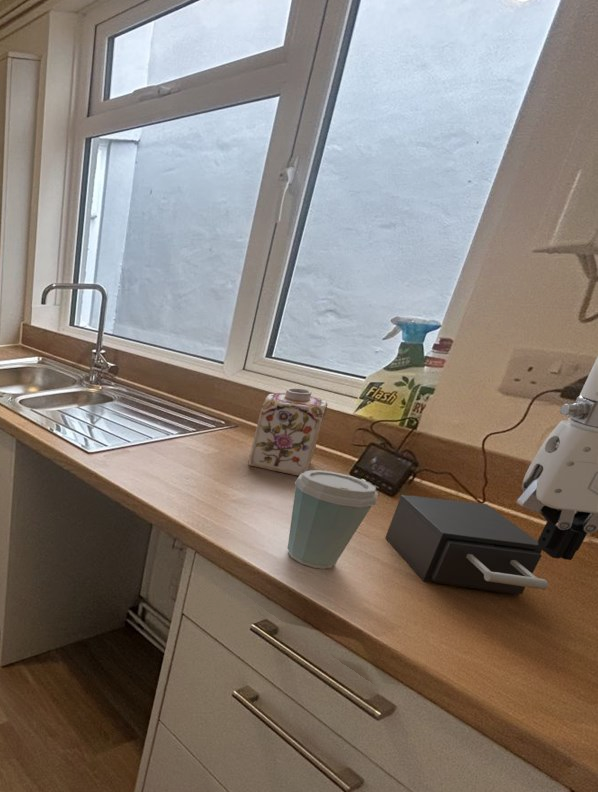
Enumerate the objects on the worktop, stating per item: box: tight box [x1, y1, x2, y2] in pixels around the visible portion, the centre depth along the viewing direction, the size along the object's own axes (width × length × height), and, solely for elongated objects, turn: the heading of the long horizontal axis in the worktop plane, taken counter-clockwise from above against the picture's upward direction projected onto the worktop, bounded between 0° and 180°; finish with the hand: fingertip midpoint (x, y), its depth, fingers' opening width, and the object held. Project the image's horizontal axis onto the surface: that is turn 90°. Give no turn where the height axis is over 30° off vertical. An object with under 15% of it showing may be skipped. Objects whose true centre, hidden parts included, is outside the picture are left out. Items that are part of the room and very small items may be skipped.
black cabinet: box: [385, 494, 543, 596], centre depth 84 cm, size 14×12×9 cm
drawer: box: [430, 538, 549, 595], centre depth 80 cm, size 19×10×7 cm, turn 161°
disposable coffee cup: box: [287, 469, 379, 570], centre depth 85 cm, size 11×11×15 cm
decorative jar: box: [247, 387, 329, 477], centre depth 121 cm, size 12×12×18 cm
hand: (553, 553), depth 67 cm, fingers closed
